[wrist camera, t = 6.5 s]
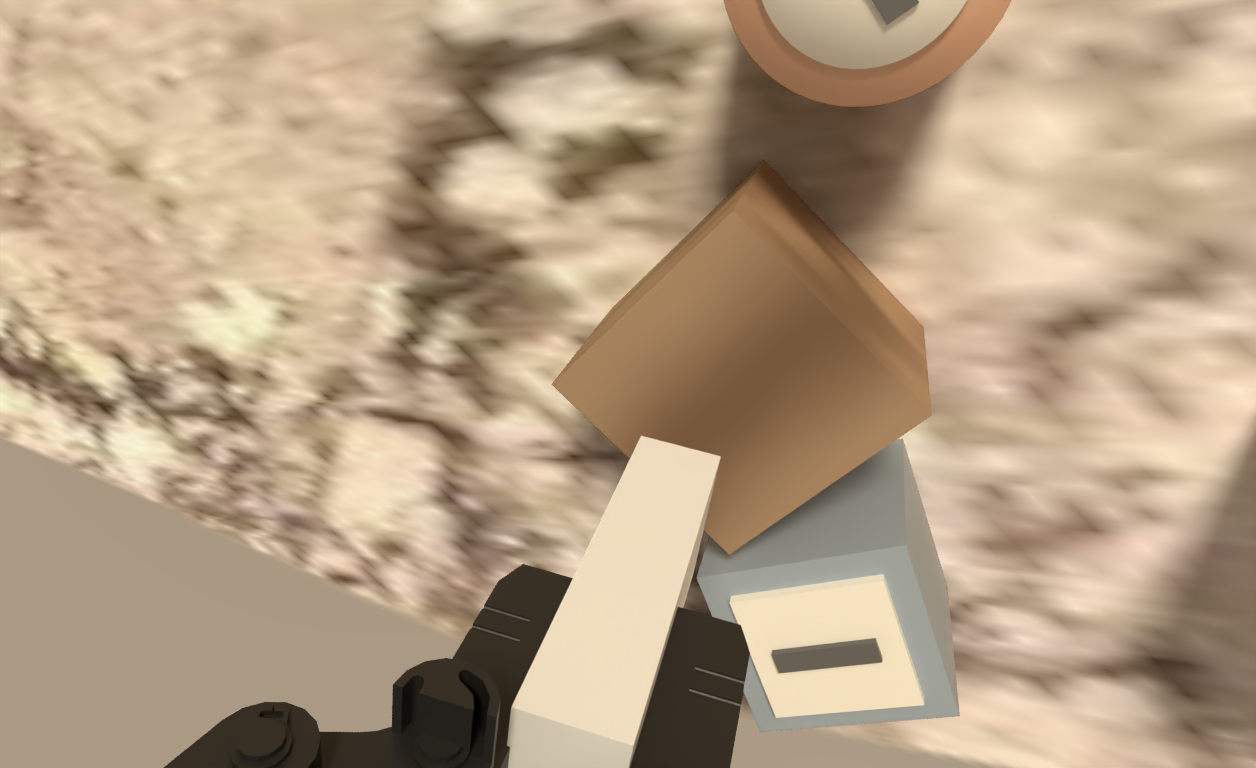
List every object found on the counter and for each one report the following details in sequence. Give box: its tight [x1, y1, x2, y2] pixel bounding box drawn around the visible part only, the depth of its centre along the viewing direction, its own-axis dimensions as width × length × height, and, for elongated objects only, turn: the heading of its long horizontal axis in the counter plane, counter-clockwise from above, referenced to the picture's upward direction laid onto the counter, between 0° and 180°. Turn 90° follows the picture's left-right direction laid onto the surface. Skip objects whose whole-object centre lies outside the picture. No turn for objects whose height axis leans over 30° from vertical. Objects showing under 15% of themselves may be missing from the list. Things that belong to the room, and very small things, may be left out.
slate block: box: [697, 439, 960, 732], centre depth 28 cm, size 6×6×6 cm
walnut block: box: [552, 160, 931, 555], centre depth 25 cm, size 7×7×6 cm
